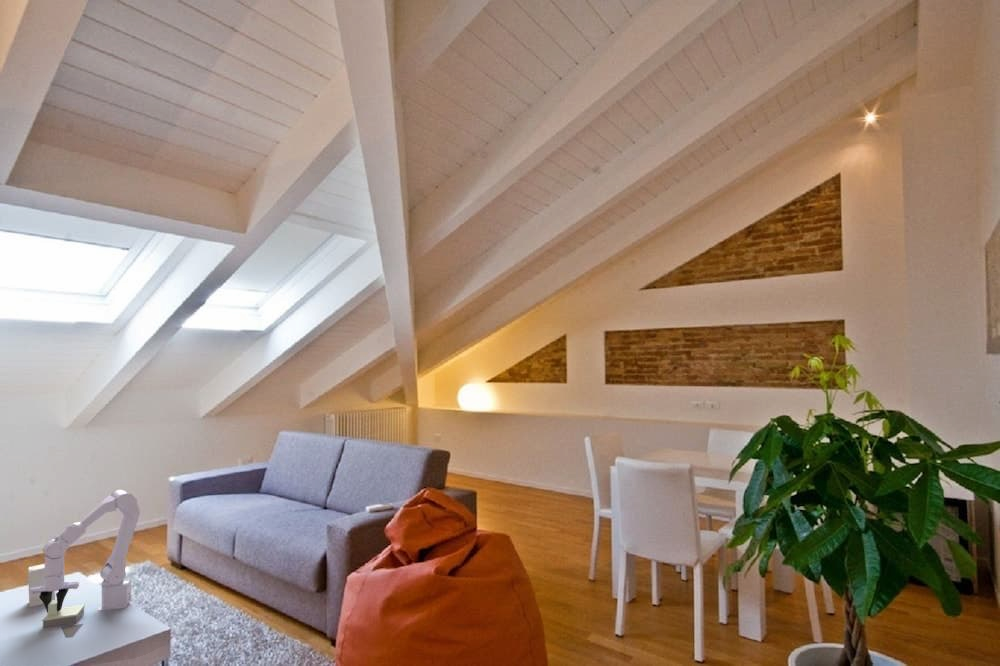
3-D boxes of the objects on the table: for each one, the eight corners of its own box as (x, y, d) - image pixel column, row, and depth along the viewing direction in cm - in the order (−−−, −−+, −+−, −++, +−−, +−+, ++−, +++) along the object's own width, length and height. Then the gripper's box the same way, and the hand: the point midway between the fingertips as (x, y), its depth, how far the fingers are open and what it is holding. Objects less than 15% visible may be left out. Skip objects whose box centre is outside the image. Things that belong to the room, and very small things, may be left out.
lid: (84, 607, 213) (84, 593, 213) (76, 617, 205) (76, 603, 206) (51, 612, 210) (51, 598, 210) (42, 622, 202) (42, 608, 202)
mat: (83, 624, 205) (83, 623, 205) (72, 638, 196) (72, 636, 196) (42, 630, 201) (42, 629, 201) (30, 644, 191) (30, 643, 191)
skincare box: (55, 597, 227) (55, 560, 228) (55, 603, 223) (55, 565, 223) (28, 604, 222) (28, 566, 222) (27, 609, 217) (28, 570, 218)
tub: (84, 614, 213) (84, 606, 213) (76, 624, 206) (76, 615, 206) (51, 618, 210) (52, 610, 210) (42, 629, 202) (43, 620, 202)
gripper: (81, 566, 213) (81, 602, 213) (35, 572, 208) (34, 609, 208) (75, 573, 207) (74, 611, 206) (26, 579, 202) (26, 618, 201)
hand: (54, 610), depth 207 cm, fingers closed on lid, 2 cm apart
